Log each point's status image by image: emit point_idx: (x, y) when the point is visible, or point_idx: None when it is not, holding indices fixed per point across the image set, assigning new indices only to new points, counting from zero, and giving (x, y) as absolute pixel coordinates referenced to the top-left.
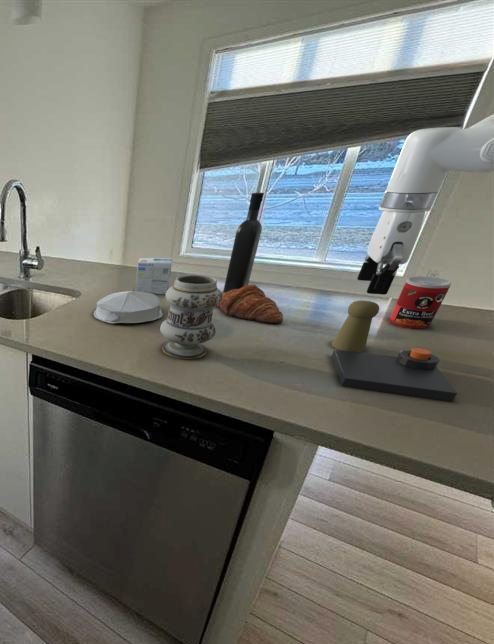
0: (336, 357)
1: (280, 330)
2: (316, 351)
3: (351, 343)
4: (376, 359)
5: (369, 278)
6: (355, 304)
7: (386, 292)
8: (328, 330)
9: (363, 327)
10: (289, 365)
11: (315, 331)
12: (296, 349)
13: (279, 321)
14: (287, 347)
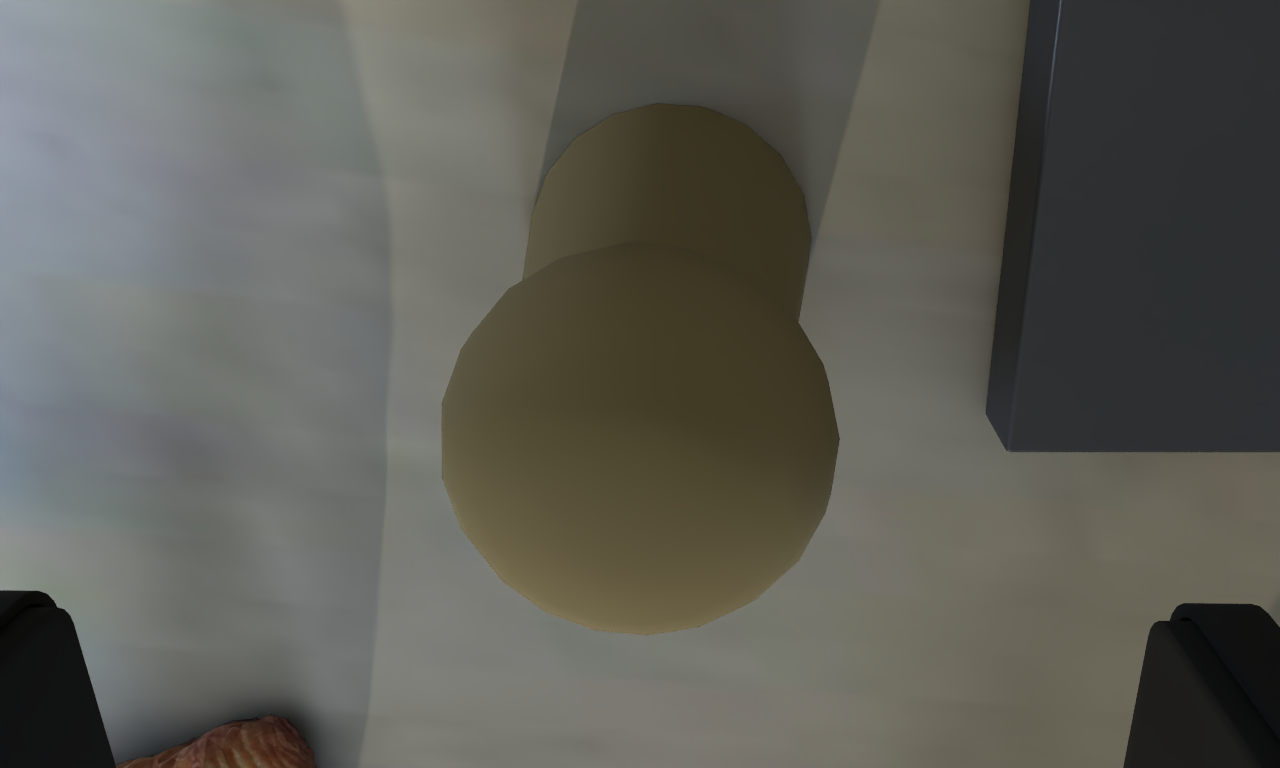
0: (1196, 449)
1: (448, 713)
2: (879, 507)
3: (803, 289)
4: (1215, 119)
5: (60, 735)
6: (712, 618)
7: (1266, 635)
8: (258, 356)
9: (788, 303)
10: None
11: (344, 465)
12: (878, 640)
13: (304, 748)
14: (851, 695)
